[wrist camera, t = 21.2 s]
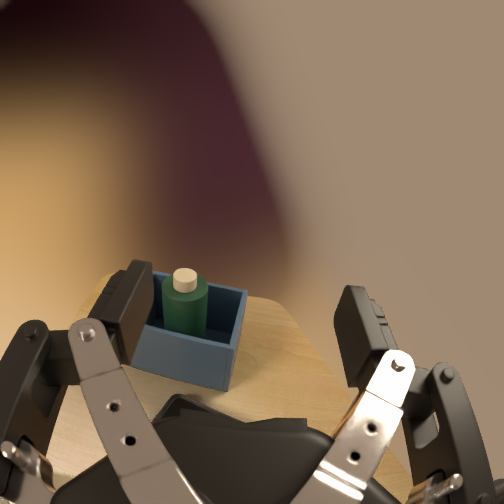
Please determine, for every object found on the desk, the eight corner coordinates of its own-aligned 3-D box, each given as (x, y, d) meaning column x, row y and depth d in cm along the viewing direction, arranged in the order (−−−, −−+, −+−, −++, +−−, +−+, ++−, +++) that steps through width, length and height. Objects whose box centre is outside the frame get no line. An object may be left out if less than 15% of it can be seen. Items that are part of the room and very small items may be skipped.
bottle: (208, 340, 41) (214, 266, 34) (199, 368, 36) (201, 294, 30) (173, 331, 41) (171, 257, 35) (160, 358, 37) (153, 283, 30)
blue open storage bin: (240, 335, 43) (248, 290, 39) (227, 392, 35) (234, 349, 30) (155, 315, 44) (151, 269, 39) (128, 365, 35) (117, 320, 31)
